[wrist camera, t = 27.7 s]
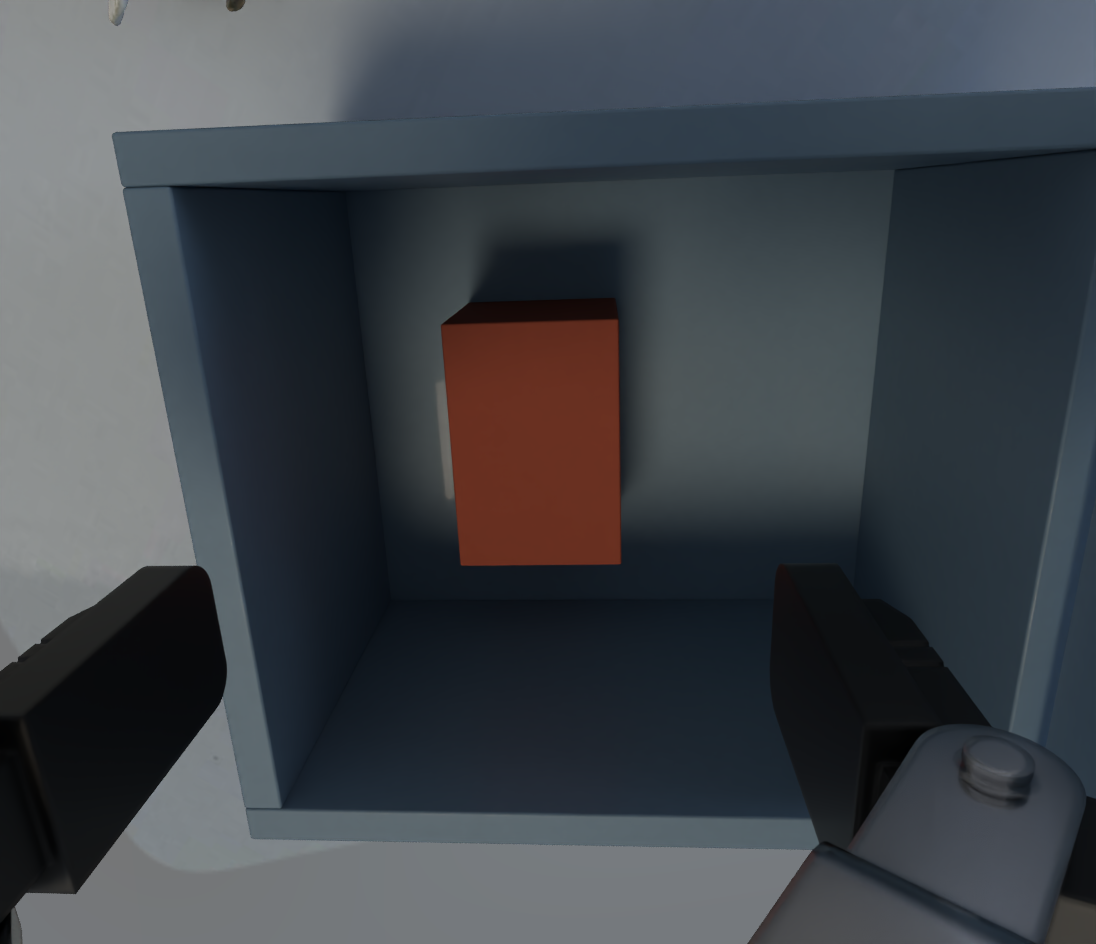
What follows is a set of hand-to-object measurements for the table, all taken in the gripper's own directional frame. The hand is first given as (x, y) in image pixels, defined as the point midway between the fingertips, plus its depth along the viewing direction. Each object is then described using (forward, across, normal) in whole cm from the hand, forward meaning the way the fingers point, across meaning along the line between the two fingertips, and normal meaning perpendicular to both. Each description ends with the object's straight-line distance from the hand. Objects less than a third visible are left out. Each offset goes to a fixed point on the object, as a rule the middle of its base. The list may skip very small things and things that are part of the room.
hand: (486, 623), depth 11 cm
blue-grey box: (+13, -2, 0) cm, 13 cm away
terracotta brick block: (+12, 0, 0) cm, 12 cm away
